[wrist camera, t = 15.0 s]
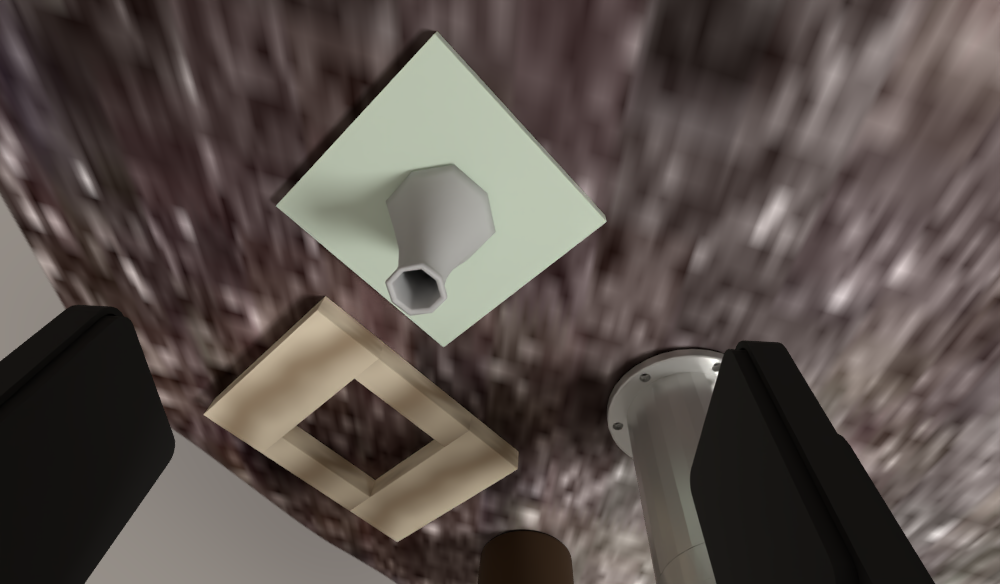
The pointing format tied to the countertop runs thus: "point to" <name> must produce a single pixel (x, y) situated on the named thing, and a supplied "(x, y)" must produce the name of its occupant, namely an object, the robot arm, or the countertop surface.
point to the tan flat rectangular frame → (362, 356)
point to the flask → (434, 234)
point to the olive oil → (525, 560)
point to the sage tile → (435, 143)
